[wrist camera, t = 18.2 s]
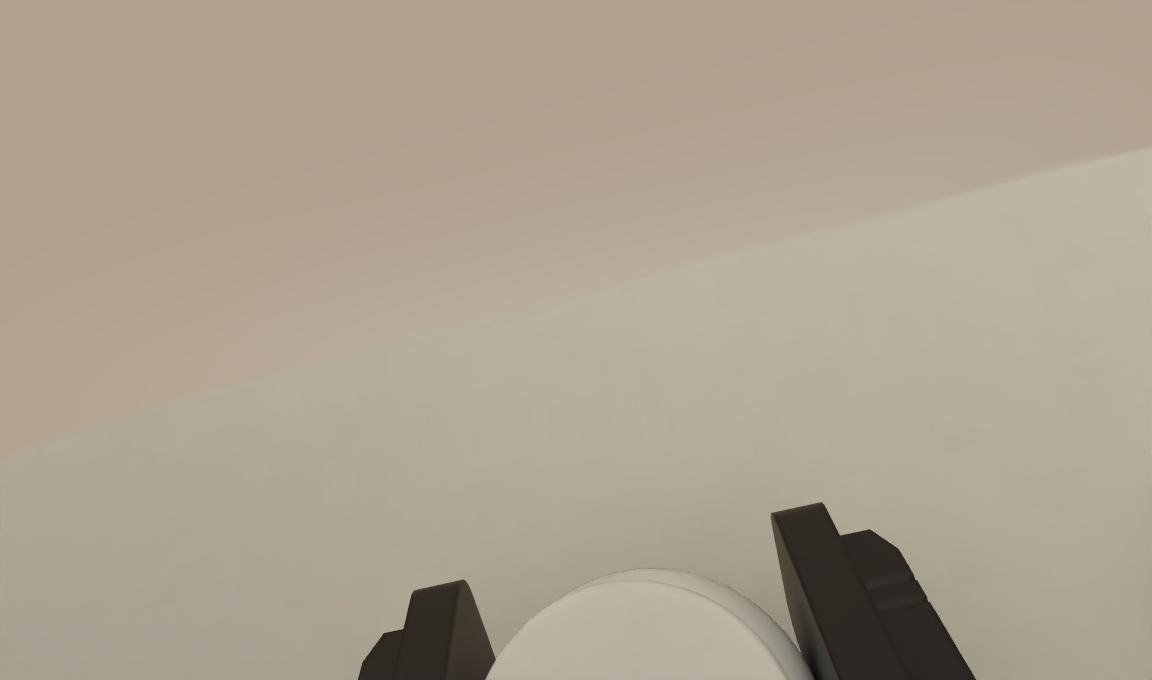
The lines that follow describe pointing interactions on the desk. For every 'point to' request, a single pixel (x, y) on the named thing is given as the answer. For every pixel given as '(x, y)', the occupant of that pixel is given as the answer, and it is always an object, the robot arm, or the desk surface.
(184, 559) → the desk surface
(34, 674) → the desk surface
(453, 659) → the robot arm
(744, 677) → the pill bottle
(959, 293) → the desk surface
